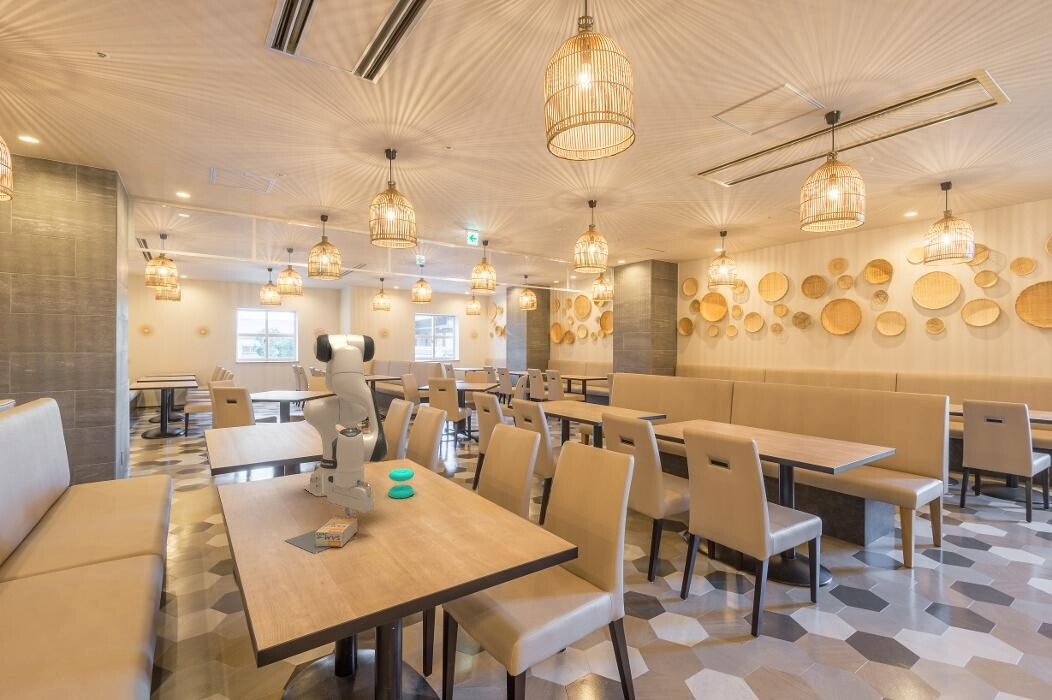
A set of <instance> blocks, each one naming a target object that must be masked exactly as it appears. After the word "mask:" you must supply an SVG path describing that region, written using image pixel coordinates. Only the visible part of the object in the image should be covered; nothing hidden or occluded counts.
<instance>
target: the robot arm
mask: <svg viewBox="0 0 1052 700" xmlns="http://www.w3.org/2000/svg"><path fill="white" fill-rule="evenodd" d="M374 341H375V340H374V339H373V338H372V337H371V336H369V335H365V334H364V335H359V334H350V333H344V334H339V333H337V334H329V335H328V333H325V334H320V335H318V336H317V337H316V339H315V340H314V344H313V348H312V349H313V353H314V355H315V359H316V360H318V361H319V362H321V363H325V364H326V366H325V377H324V378H325V380H324V385H325V388H326V389H327V390H328V391H329V392H331V393H332V394H335V395H337V396H338V397H325V398H322V397H321V398H317V399H312V400H309V401H308V402H307V403H306V404H305V405H304V408H303V410H302V411H303V419H304V420H305V421H306V423H307V424H309V426H310V425H311V426H312V427H313V428H314V430H315V429H316V431H317V432H318V434H319V435H320V437H321V443H322V445H321V446H322V458H319V462H320V464H319V467H318V468H317V469H316V470H315V471H313V472H312V473H311V474H310V477H309V484H307V485H305V486H303V490H305V489H306V490H307V491H306V490H305V491H306V492H308V491H309V492H308V493H309V494H311V493H312V494H311V495H313V496H315V497H327V500H328V502H329V503H332V504H334V505H338V506H342V511H343V513H344V517H356V515H357V512H360V513H364V514H365V513H369V512H372V511H373V509H374V507H375V501H374V493H373V492H374V491H373V490H372V486H370V483H369V482H367V481H366V482H365V464H364V463H366V462H367V463H368V462H370V463H379V462H381V461H382V460H383V459H385V457H386V456H387V455H388V450H389V444H388V441H387V438H386V436H385V431H384V426H383V423H382V418H381V411H380V408H379V404H378V399H377V396H376V393H375V390H374V389H372V388H370V387H369V386H368V383H367V382H366V378H365V364H364V363H367V362H370V361H372V360H373V358H374V356H375V353H376V344H375V342H374ZM367 418H368V422H369V427H370V432H369V433H363V430H361V429H359V428H356V427H348V428H343V429H341V430H338V429H337V428H336V427H337V425H341V424H355V423H360V422H363V421H365V420H366V419H367Z"/></svg>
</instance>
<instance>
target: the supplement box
mask: <svg viewBox="0 0 1052 700" xmlns="http://www.w3.org/2000/svg"><path fill="white" fill-rule="evenodd" d="M358 521H359V519H358V516H355V517H345V516H333V517H332V518H331V519H329V520H328V521H327V522H326V523H325V524H323V525H322V526H321V527H319V528H318V529H319V530H318V529H317V530H318V531H316V547H332V548H342V547H343V546H344V545H346V543H347V541H348V540H349V539H350V538H351V537H354V535H355V534H356V533H357V532H358V530H359V525H358V524H359V523H358ZM348 542H349V541H348Z"/></svg>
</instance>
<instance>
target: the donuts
mask: <svg viewBox="0 0 1052 700" xmlns="http://www.w3.org/2000/svg"><path fill="white" fill-rule="evenodd" d="M414 472H415V471H413V469H410V468H396V469H393V470H391V471H390V472H389V473H388V478H389V479H390V480H391V481H394V482H399V483H400V482H407V481H409V480H411V479H413V478H414V475H415V473H414ZM414 492H415V489H414V487H412V486H411V485H410V484H396V485H394V486H392V487H391V488H390V489H389V490H388V495H389V496H390V497H391V498H393V499H394V498H395V499H405V498H408V497H409V498H410V497H412V496H413V495H414Z"/></svg>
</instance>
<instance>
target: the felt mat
mask: <svg viewBox="0 0 1052 700" xmlns="http://www.w3.org/2000/svg"><path fill="white" fill-rule="evenodd" d="M319 529H320V528H318V529H316V530H312V531H309V532H306V533H303V534H300V535H297V536H294V537H292V538H288V539H286V540H284V542H286V543H289V544H291V545H293V546H295V547H297V548H299V547H300V548H299V549H301V550H304V551H306V550H307V552H308V551H309V553H311V552H312V553H311V554H313V553H316V552H318V553H321V552H324V551H326V550H329V549H331V547H316V531H318V530H319ZM355 539H356V537H354V536H352V537H351V538H350V539H349V540H348V542H350V540H351V541H353V540H355ZM323 550H324V551H323ZM320 551H321V552H320ZM316 554H317V553H316Z"/></svg>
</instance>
